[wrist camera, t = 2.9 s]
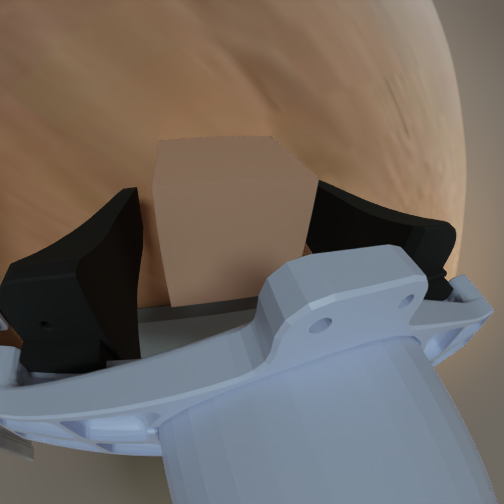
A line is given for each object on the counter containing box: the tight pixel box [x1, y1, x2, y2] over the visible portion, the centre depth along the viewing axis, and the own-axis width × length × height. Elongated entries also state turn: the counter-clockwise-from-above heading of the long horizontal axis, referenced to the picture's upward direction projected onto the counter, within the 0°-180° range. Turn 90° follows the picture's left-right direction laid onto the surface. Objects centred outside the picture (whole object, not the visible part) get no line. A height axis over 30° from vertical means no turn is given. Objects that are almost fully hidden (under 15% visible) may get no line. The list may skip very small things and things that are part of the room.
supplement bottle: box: [0, 425, 34, 461], centre depth 14 cm, size 5×5×10 cm
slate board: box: [137, 296, 258, 358], centre depth 20 cm, size 18×12×1 cm, turn 85°
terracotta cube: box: [152, 136, 319, 307], centre depth 11 cm, size 5×5×5 cm
